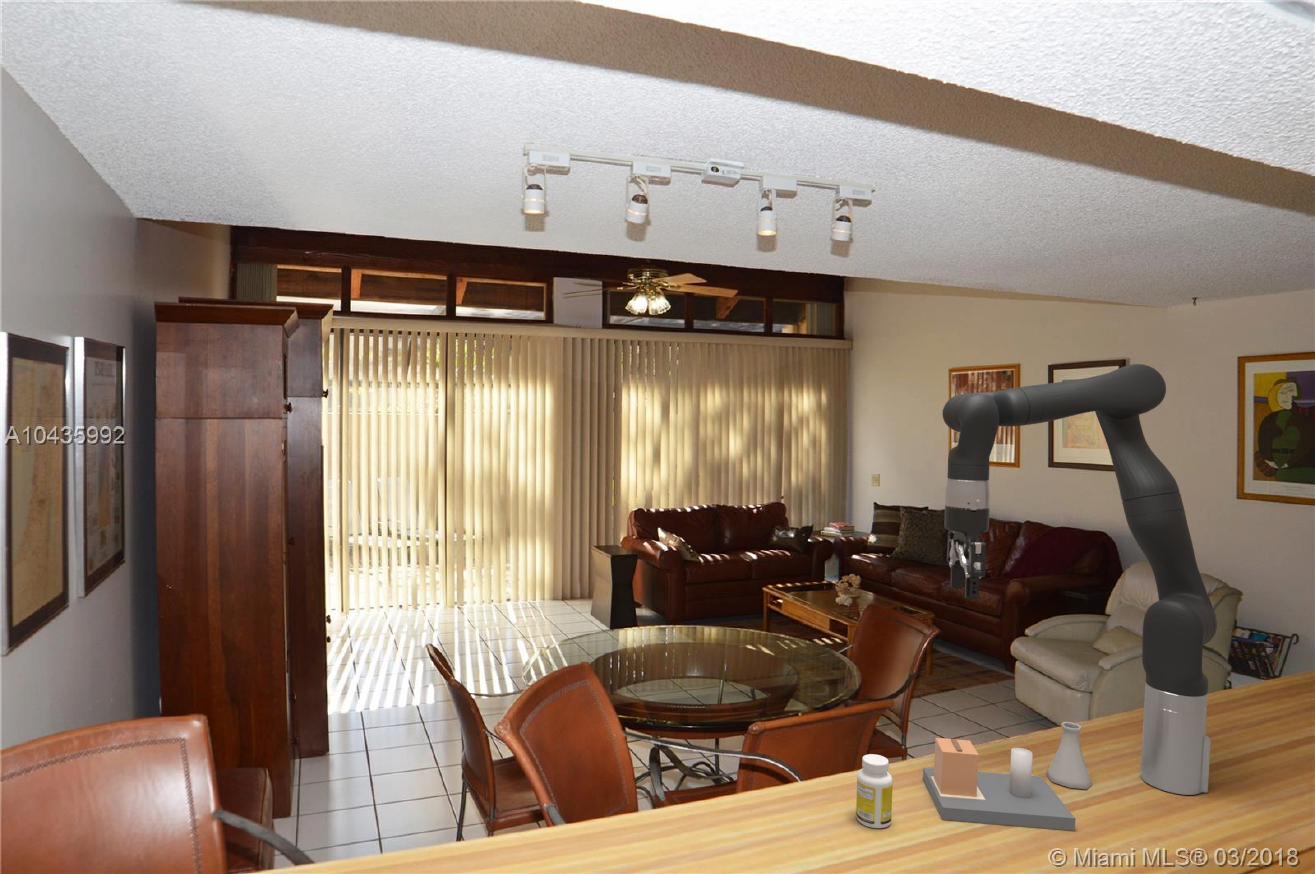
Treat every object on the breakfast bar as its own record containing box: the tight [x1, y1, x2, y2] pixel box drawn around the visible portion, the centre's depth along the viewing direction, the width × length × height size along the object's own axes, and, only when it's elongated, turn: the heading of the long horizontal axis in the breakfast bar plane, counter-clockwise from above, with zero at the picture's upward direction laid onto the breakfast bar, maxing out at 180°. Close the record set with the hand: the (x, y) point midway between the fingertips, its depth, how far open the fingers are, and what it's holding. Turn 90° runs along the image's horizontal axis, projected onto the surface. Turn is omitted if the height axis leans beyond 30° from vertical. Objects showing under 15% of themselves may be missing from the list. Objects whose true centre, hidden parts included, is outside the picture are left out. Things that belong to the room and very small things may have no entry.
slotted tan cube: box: [933, 737, 979, 797], centre depth 132 cm, size 6×6×7 cm
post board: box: [922, 747, 1076, 832], centre depth 132 cm, size 20×14×9 cm
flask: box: [1046, 721, 1093, 790], centre depth 141 cm, size 7×7×10 cm
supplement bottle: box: [855, 753, 893, 829], centre depth 125 cm, size 5×5×10 cm
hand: (964, 593), depth 144 cm, fingers open, 8 cm apart
